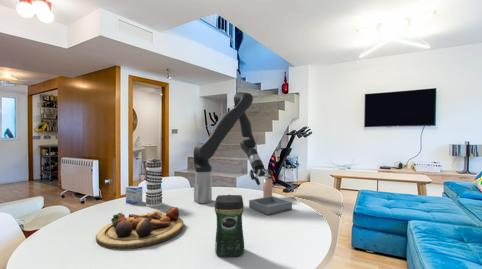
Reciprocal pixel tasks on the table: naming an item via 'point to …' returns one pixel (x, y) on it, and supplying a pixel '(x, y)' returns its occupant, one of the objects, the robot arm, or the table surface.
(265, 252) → the table surface
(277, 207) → the tray
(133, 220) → the wooden plate with food
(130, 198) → the medicine box
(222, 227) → the coffee jar
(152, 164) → the model tower building
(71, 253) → the table surface
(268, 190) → the cup
